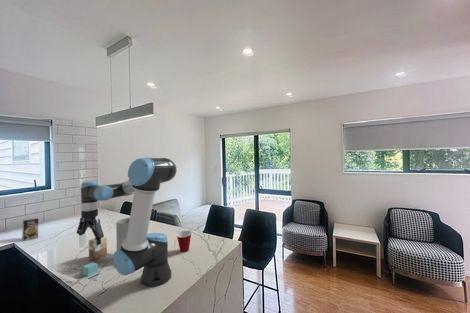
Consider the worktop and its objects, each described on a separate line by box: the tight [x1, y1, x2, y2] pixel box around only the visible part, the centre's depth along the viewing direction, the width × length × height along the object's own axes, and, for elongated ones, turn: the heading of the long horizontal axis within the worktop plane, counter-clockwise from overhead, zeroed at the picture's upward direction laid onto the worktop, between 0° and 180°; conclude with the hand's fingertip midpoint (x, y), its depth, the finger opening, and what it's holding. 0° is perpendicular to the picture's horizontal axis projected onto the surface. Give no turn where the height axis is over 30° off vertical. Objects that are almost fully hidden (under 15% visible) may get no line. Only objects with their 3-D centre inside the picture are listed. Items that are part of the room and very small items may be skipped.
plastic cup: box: [175, 230, 193, 253], centre depth 146 cm, size 11×11×12 cm
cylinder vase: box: [115, 217, 130, 251], centre depth 134 cm, size 12×12×25 cm
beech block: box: [88, 236, 108, 251], centre depth 135 cm, size 7×7×6 cm
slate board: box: [72, 252, 114, 268], centre depth 133 cm, size 18×18×2 cm
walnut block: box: [88, 246, 108, 261], centre depth 135 cm, size 7×7×6 cm
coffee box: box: [21, 218, 39, 242], centre depth 179 cm, size 9×6×16 cm
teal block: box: [82, 262, 99, 280], centre depth 116 cm, size 5×5×6 cm
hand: (89, 248), depth 116 cm, fingers open, 13 cm apart
